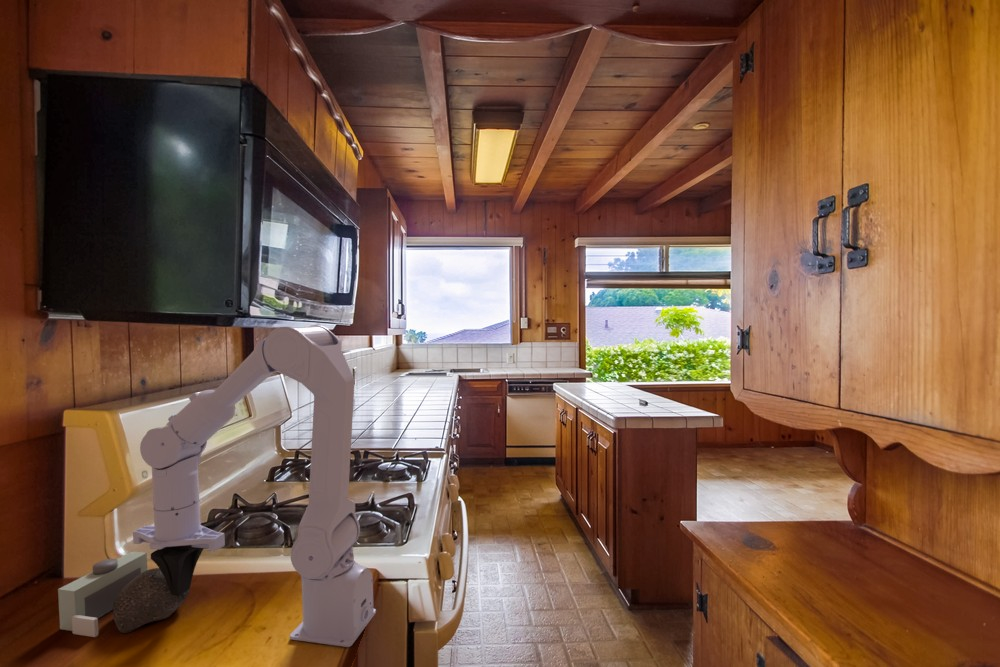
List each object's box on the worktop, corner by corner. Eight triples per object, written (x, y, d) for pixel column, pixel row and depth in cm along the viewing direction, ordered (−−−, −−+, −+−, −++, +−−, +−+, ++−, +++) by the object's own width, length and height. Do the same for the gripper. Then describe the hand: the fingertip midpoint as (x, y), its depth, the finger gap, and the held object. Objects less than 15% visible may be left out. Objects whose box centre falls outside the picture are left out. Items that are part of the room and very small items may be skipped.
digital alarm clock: (170, 588, 79) (168, 547, 79) (94, 637, 67) (92, 589, 67) (136, 584, 80) (134, 544, 80) (56, 631, 68) (53, 584, 68)
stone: (107, 647, 70) (95, 629, 64) (125, 586, 76) (116, 564, 70) (184, 637, 74) (181, 619, 68) (196, 580, 80) (194, 558, 74)
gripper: (111, 511, 68) (115, 602, 69) (195, 518, 65) (199, 613, 66) (155, 493, 75) (159, 576, 76) (233, 498, 72) (237, 585, 73)
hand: (180, 591), depth 71 cm, fingers closed
